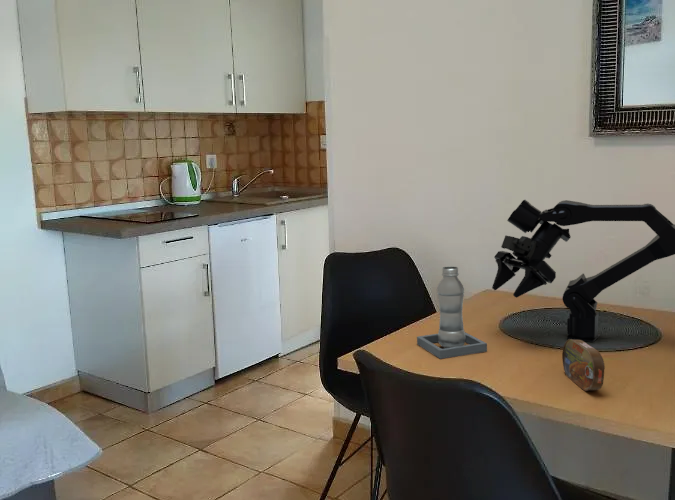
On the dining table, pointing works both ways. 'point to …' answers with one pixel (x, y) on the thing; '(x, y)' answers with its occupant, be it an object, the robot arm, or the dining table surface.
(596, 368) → the tin
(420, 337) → the frame
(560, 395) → the dining table surface
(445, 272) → the plastic bottle
